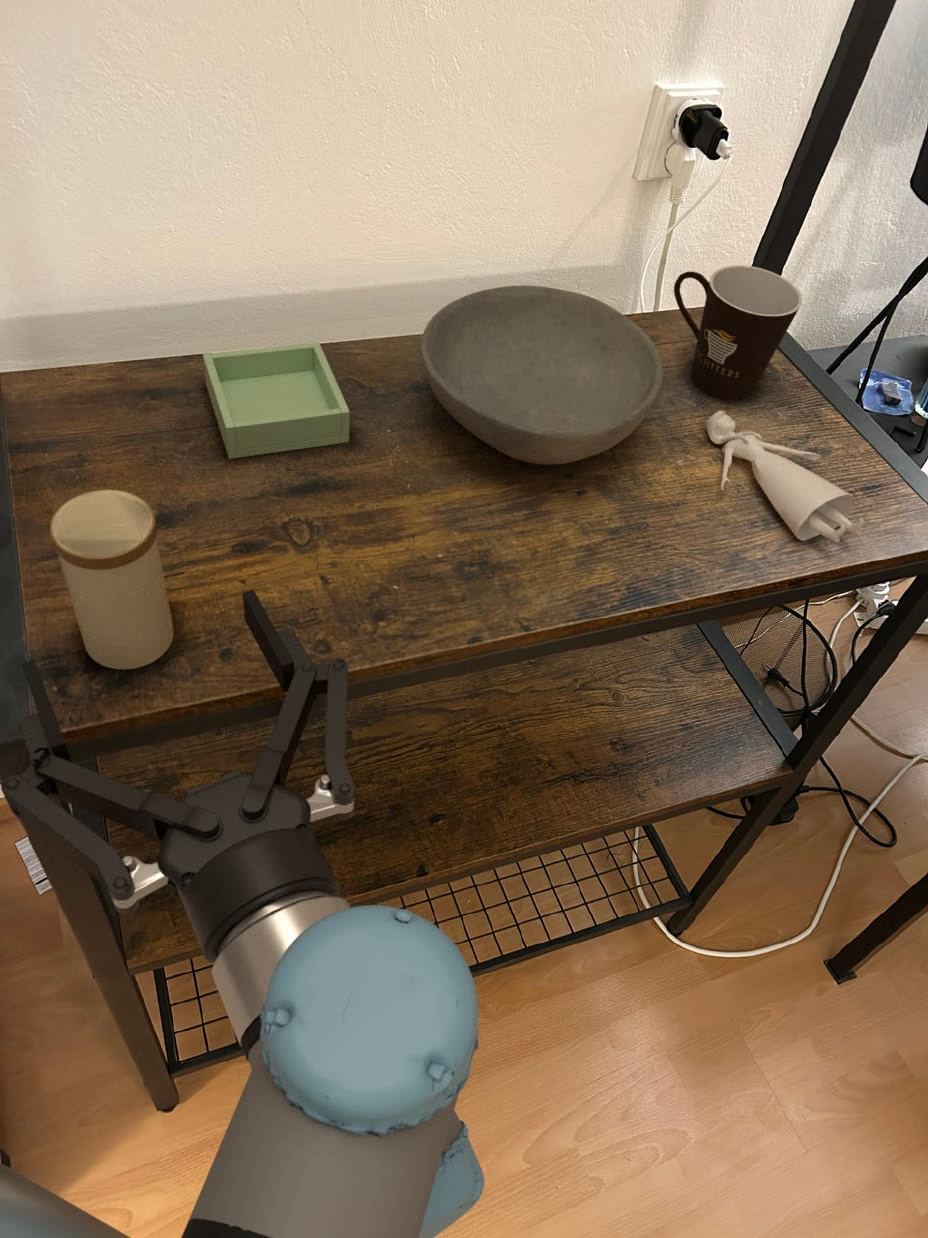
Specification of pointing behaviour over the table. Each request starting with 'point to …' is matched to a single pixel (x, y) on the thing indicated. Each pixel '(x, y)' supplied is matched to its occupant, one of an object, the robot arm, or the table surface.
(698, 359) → the coffee mug
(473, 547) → the table surface
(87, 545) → the tea tin
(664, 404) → the table surface
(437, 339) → the bowl
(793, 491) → the woman figurine
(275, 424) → the bin
